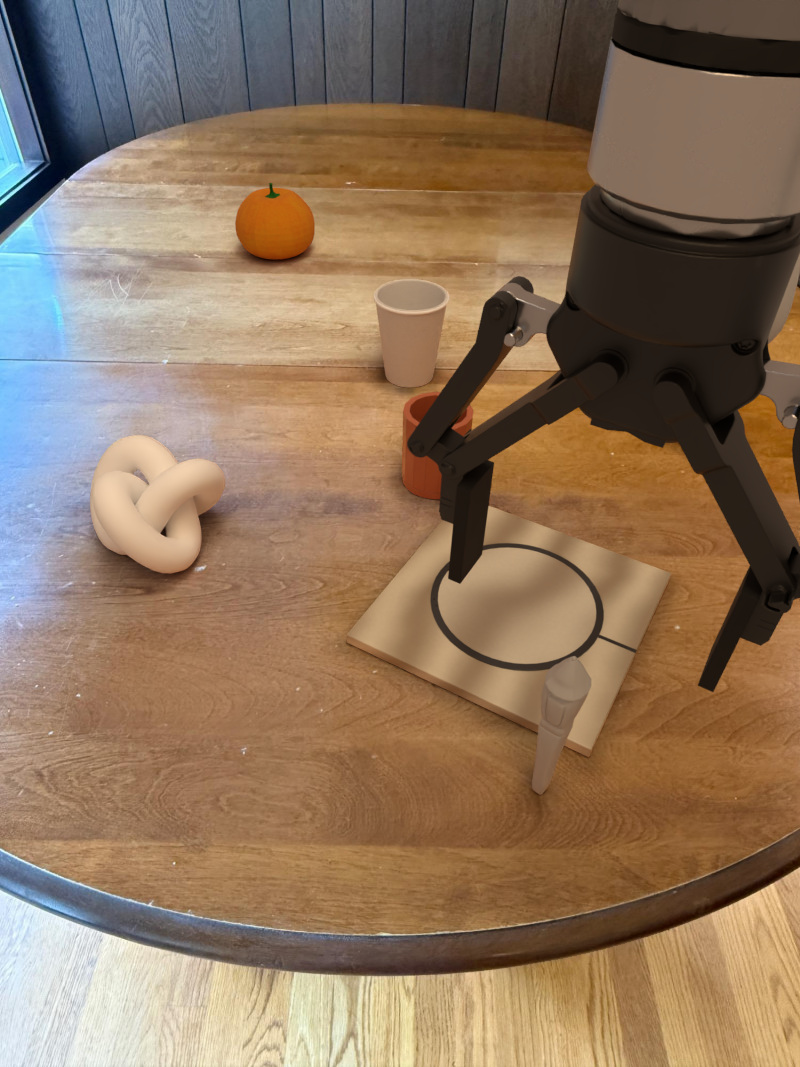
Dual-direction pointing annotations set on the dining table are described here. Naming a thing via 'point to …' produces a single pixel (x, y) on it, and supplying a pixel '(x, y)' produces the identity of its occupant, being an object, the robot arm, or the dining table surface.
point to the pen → (558, 716)
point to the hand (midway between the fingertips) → (581, 615)
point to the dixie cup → (410, 329)
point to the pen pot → (423, 471)
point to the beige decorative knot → (152, 502)
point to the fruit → (274, 223)
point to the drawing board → (516, 619)
